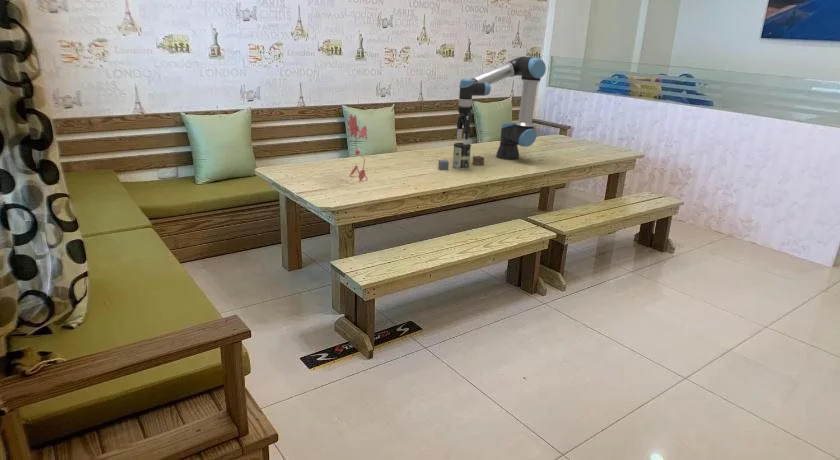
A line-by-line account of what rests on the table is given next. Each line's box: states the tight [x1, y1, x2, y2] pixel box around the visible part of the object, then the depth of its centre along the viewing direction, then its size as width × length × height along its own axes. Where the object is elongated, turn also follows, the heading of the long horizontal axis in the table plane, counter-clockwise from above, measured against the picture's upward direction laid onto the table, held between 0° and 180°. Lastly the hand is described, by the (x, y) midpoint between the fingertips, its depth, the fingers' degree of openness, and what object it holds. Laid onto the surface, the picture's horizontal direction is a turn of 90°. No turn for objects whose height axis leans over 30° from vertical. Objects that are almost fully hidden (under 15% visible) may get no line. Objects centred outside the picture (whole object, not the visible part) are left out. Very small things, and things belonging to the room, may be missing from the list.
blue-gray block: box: [437, 159, 450, 171], centre depth 324 cm, size 5×5×5 cm
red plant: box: [341, 113, 369, 185], centre depth 289 cm, size 15×26×35 cm, turn 29°
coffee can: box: [452, 142, 472, 170], centre depth 329 cm, size 10×10×14 cm
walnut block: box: [472, 155, 485, 167], centre depth 339 cm, size 5×5×5 cm
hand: (462, 142), depth 326 cm, fingers open, 13 cm apart
